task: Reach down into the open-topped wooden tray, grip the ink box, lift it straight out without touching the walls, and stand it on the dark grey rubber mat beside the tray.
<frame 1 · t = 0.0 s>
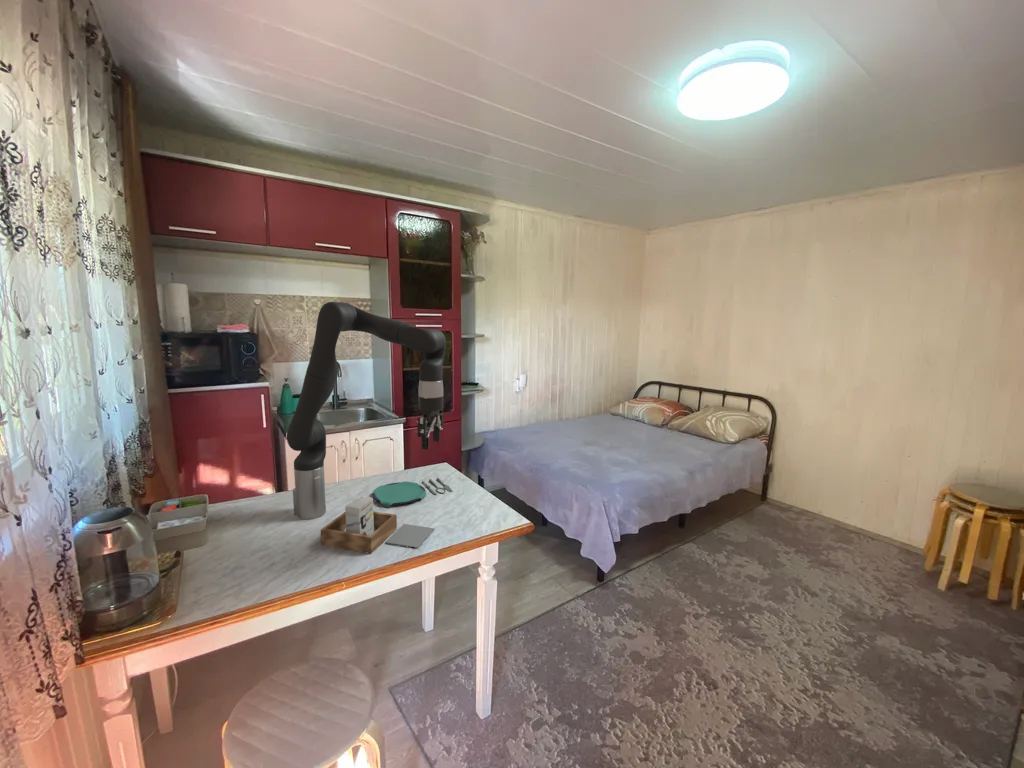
hand: (431, 445, 132), 29 cm above the table, tool pointing down, fingers open, 8 cm apart
ink box: (360, 537, 132), resting in wooden tray
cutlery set: (412, 494, 166), on the table
wooden tray: (360, 536, 132), on the table
rubber mat: (410, 536, 133), on the table
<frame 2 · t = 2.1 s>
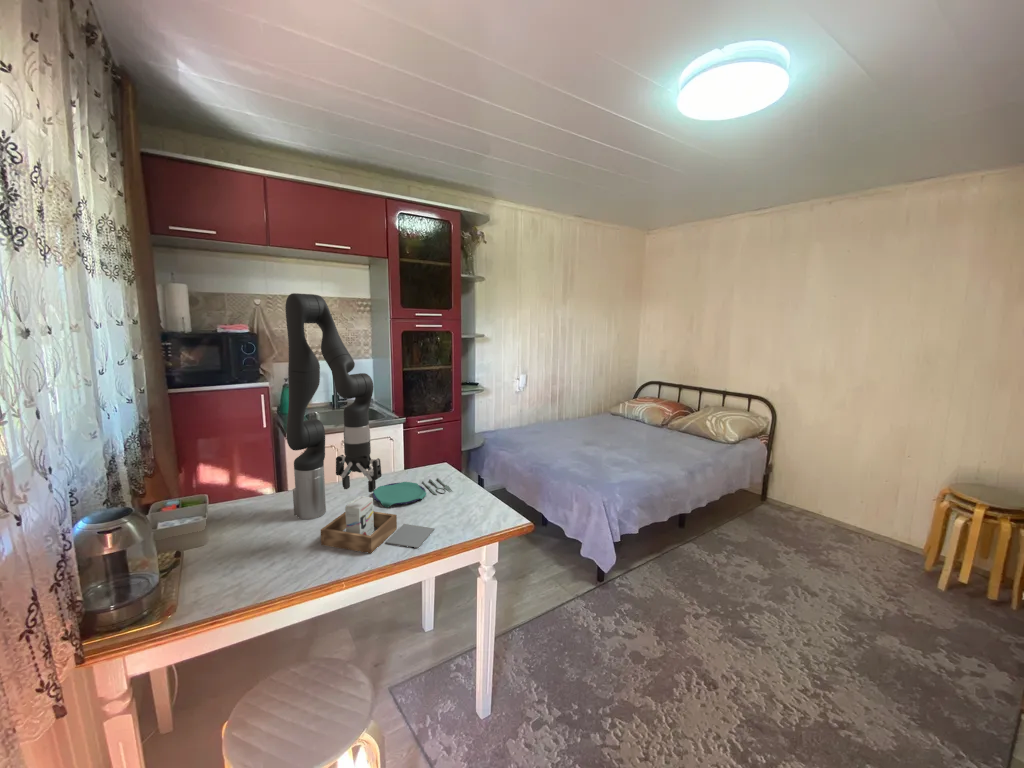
hand: (359, 489, 130), 16 cm above the table, tool pointing down, fingers open, 8 cm apart
nothing on the table moved.
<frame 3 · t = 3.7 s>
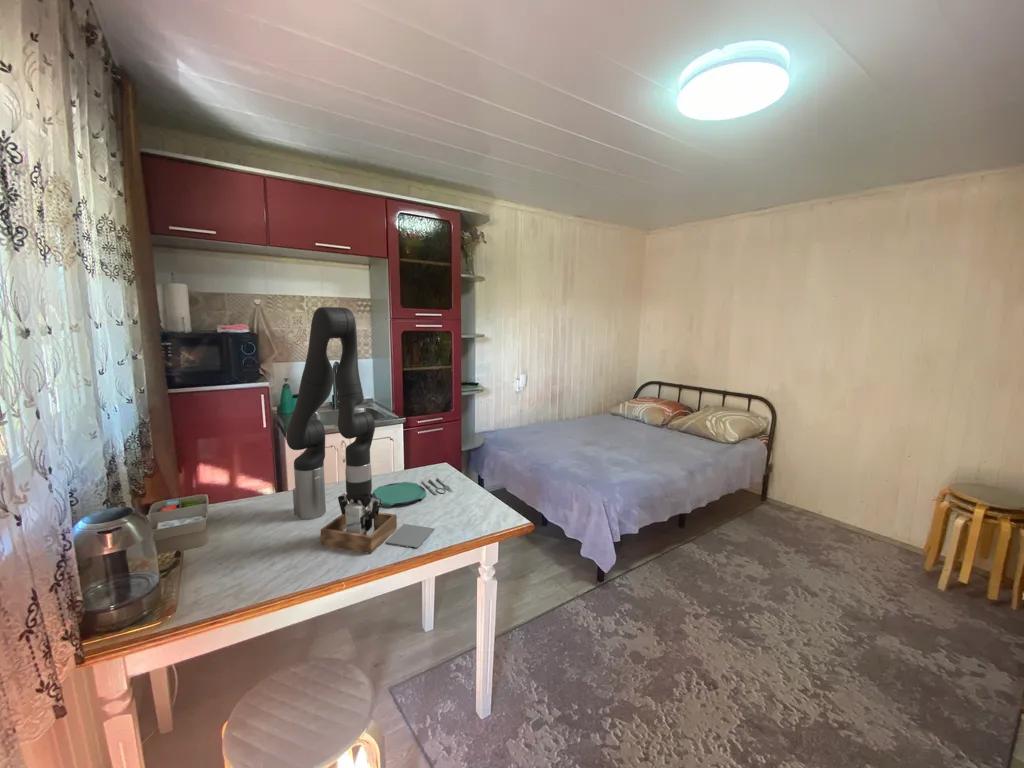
hand: (360, 528, 132), 3 cm above the table, tool pointing down, fingers closed on ink box, 5 cm apart
ink box: (360, 537, 132), resting in wooden tray, touching gripper
everything else where it was.
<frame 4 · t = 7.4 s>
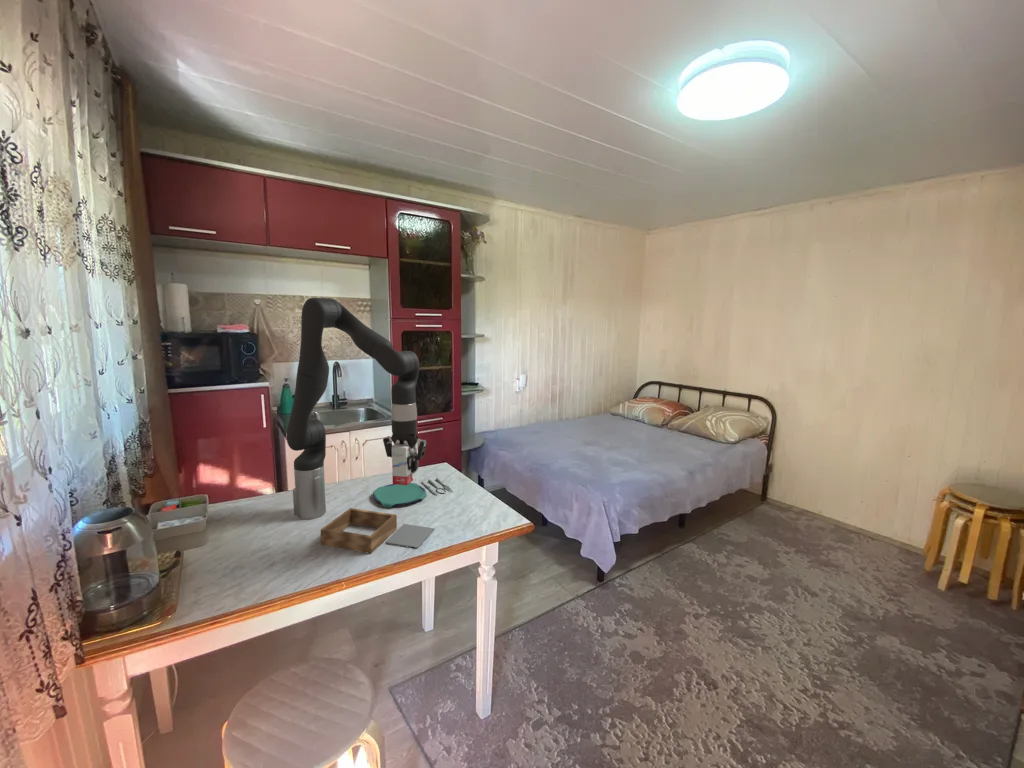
hand: (405, 470, 129), 22 cm above the table, tool pointing down, fingers closed on ink box, 5 cm apart
ink box: (405, 480, 130), point 19 cm above the table, touching gripper
everything else where it was.
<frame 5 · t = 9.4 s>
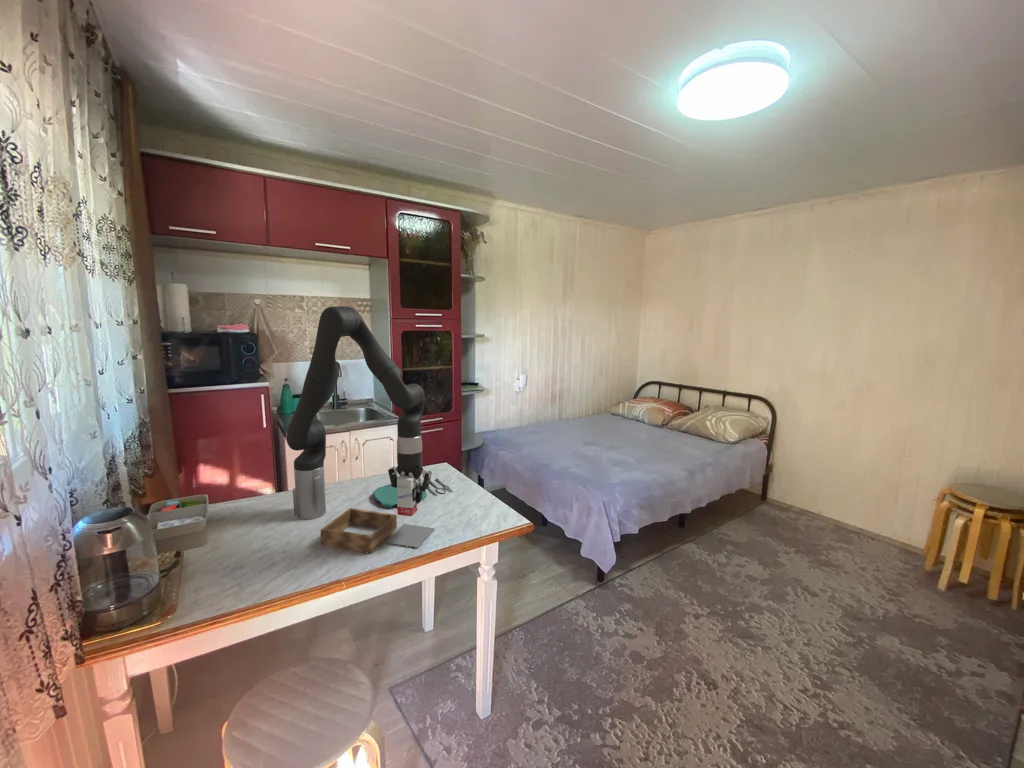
hand: (410, 501, 131), 12 cm above the table, tool pointing down, fingers closed on ink box, 5 cm apart
ink box: (410, 510, 132), point 9 cm above the table, touching gripper
everything else where it was.
when the fingers open (5 cm above the table, at t = 11.2 s): ink box drops 1 cm, resting on rubber mat.
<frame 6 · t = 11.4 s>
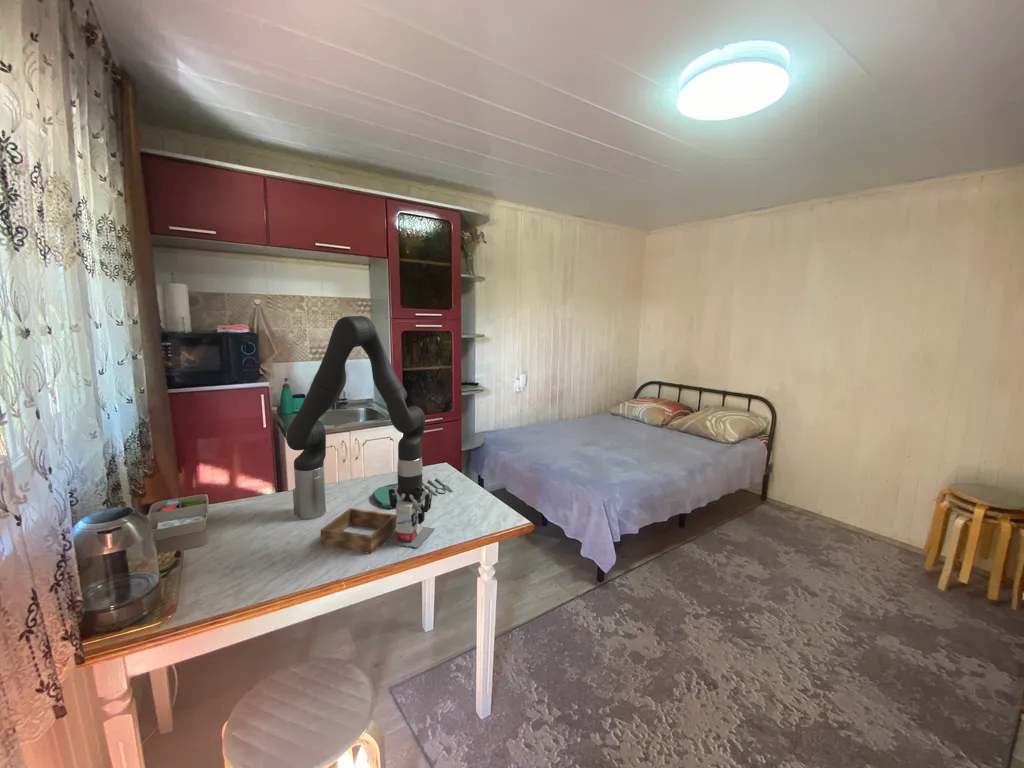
hand: (410, 521, 132), 5 cm above the table, tool pointing down, fingers open, 6 cm apart
ink box: (410, 535, 133), resting on rubber mat
everything else where it was.
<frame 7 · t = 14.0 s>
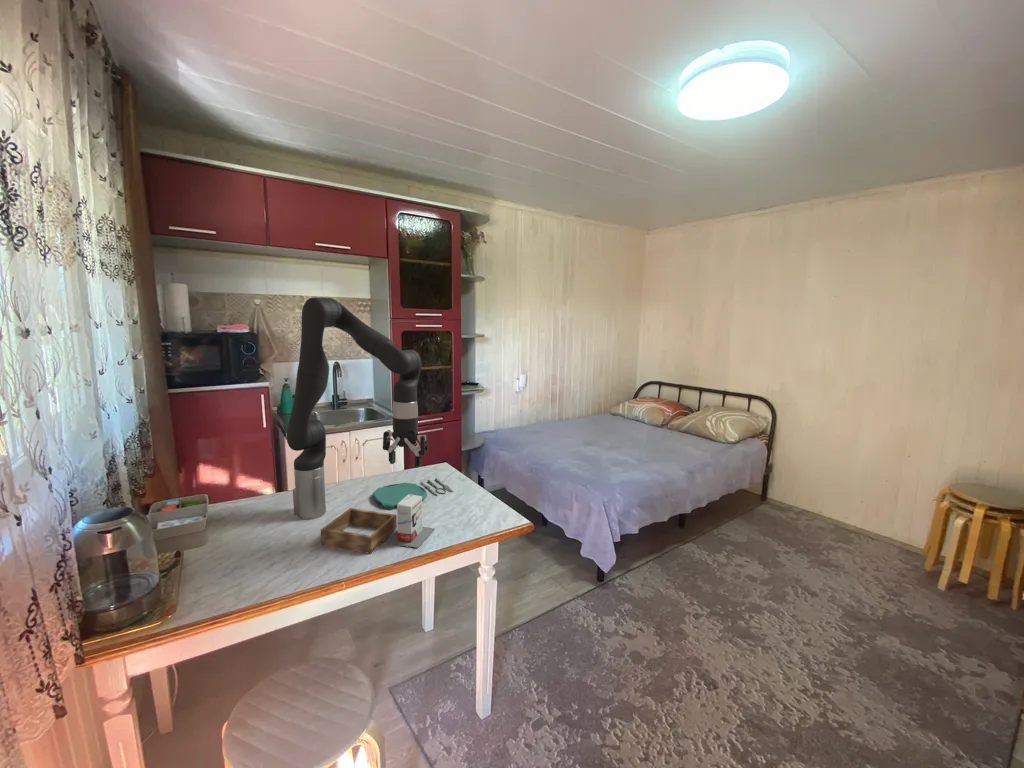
hand: (405, 465, 132), 23 cm above the table, tool pointing down, fingers open, 8 cm apart
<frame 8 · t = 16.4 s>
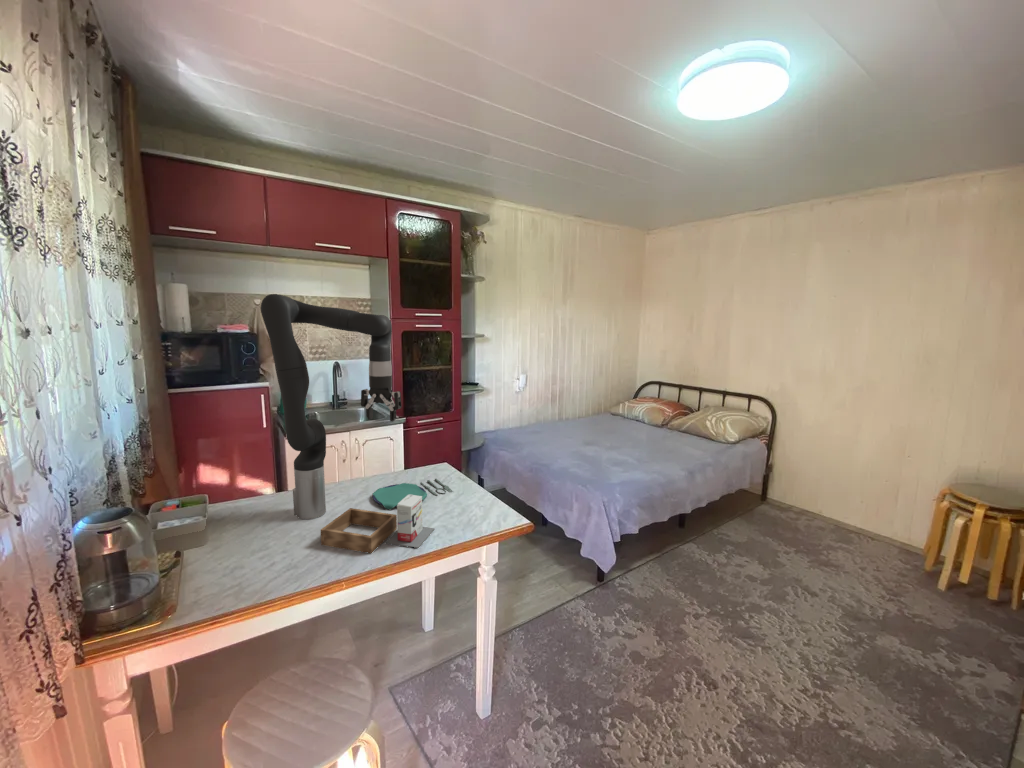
hand: (381, 420, 146), 33 cm above the table, tool pointing down, fingers open, 8 cm apart
at the end: ink box inside the target area on the rubber mat (0.2 cm from its centre), point 0.3 cm above the rubber mat's base; ink box tilted 0°; ink box touching rubber mat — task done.
